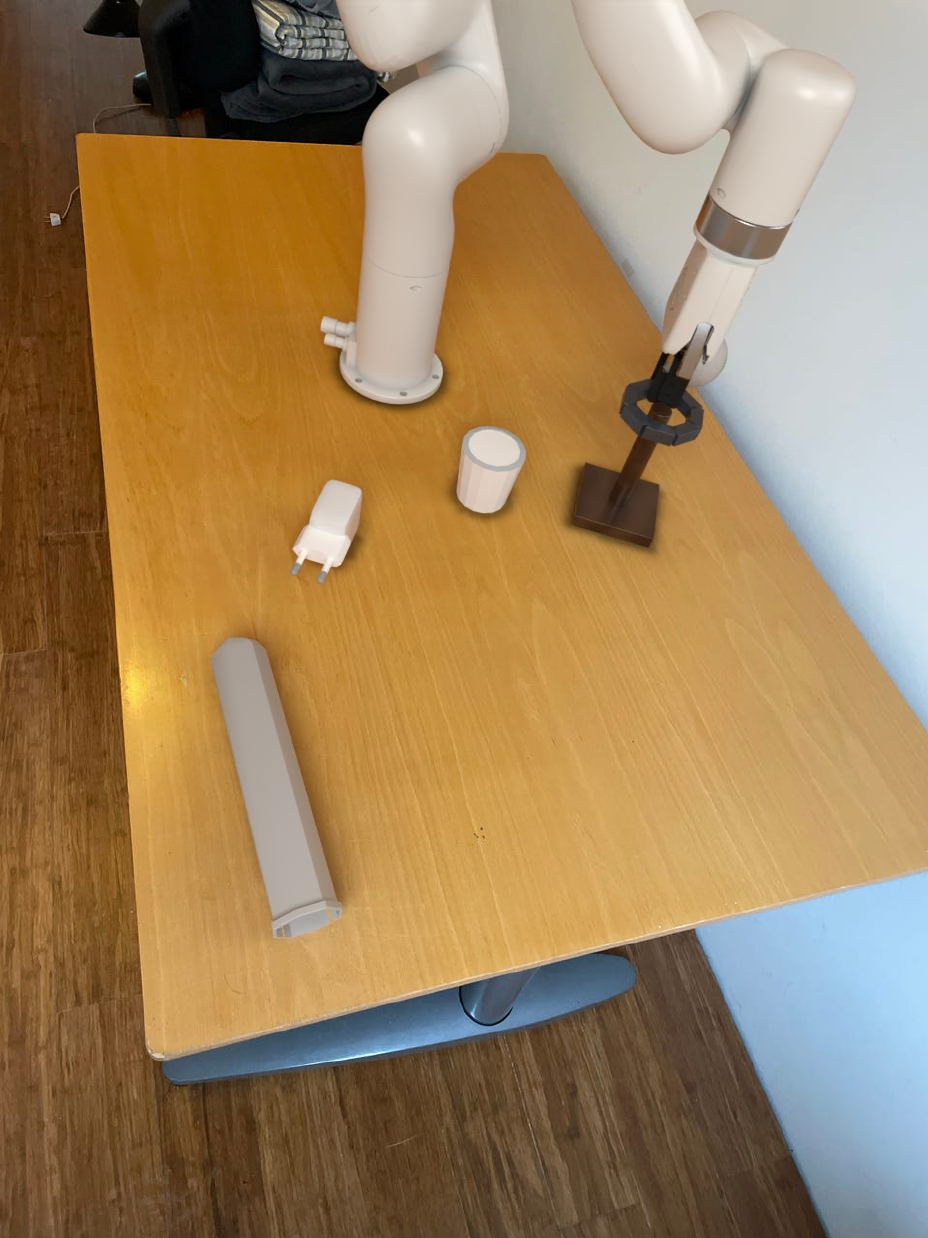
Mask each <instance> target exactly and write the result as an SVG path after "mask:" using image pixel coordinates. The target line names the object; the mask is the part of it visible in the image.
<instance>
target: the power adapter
mask: <svg viewBox="0 0 928 1238" xmlns="http://www.w3.org/2000/svg"><path fill="white" fill-rule="evenodd" d="M362 504H363V491H362V489H361V488H360V487H358V486H355V485H353V484H351V483H347V482H343V481H340V480H338V479H337V480H336V479H330V480H327V481H326V483H325V485H324V486H323V487H322V490H321V491H320V493H319V496H318V497H317V500H316V502H315V504H314V506H313V508H312V510H311V512H310V515H309V521H308V523H307V524H305V525H304V526H303V527H302V529H301V531H300V533H299V534H298V537H297V539H296V540H295V543H294V544H293V547H292V551H293V552H294V553H295V554H296V556H297V557H296V560H295V562H294V563H293V564H292V567H291V568H290V571H289V572H290V575H291V576H293V577H297V575H299V572H300V570H301V568H302V566H303V563H304V561H305V560H309V561H312V562H315V563H318V564H322V565H323V566H322V568H321V570H320V572H319V573H318V576H317V577H316V582H317V584H319V585H322V584H324V583H325V581H326V579H327V577H328V574H329V572H330V569H331V568H337V567H339V566H341V565H342V564H343V562H344V560H345V557H346V556H347V553H348V551H349V550H350V547H351V545H352V542H353V540H354V539H355V536H356V533H357V531H358V529H359V526H360V521H361V513H362Z"/></svg>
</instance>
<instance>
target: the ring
mask: <svg viewBox="0 0 928 1238" xmlns="http://www.w3.org/2000/svg"><path fill="white" fill-rule="evenodd" d="M653 382H654V379H653V380H652V379H651V377H649V378H645V379H642V380H638V381H634V382H631V383H628V385H626V386H625V388H624V391H623V393H622V396H621V401H620V406H619V410H618V414H619V417H620V418H621V420H622V421H623V422H624V423H625V424H626V425H627V426H628V427H629V428H630V429H631V430H632V432H633V433H634V434H635V435H636V436H638V435H641V438H643V439H647V440H650V441H653V442H656V443H657V444H659V445H660V444H661V445H663V446H666V447H671V446H672V447H677V446H679V445H683V444H687V443H690V442H692V441H695V440H696V439H697V438H698V437H699V435H700V433H701V431H702V430H703V426H704V425H703V424H704V415H705V409H704V407H703V405H702V404H700V402H699V401H697V399H696V398H695V397H693V395H692V394H691V393H689V391H688V390H687V389H686V390H685V392H684V394H683V396H682V398H681V400H680V402H679V404H678V406H677V408H675V409H676V410H677V411H678V412H679V413H680V414H681V415H682V417H684V418H685V421H684V422H682V423H678V424H675V425H670V424H668V423H667V424H664V423H660V422H657V421H654V420H651V419H650V418H649V417H648V416H647V413H645V412H644V411H643V410H642V409H641V408H640V406H639V405H638V403H639V402H642V401H645V400H647V395H648V393H649V391H650V388H651V386H652V384H653Z"/></svg>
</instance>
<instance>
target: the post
mask: <svg viewBox="0 0 928 1238" xmlns="http://www.w3.org/2000/svg"><path fill="white" fill-rule="evenodd" d="M646 415H647V416H648V417H649V418H650V419H651V420H654V421H657V422H660V423H664V424H667V425H668V423H669V421H670V419H671V417H672V415H673V409H672V410H671V408H670V407H669V406H668V405H666V404H664V403H660V402H656V403H651V406H650V407H649V410H648V412H647V413H646ZM657 446H658V443H656V442H653V441H650V440H647V439H643V438H641V435H636V438H635V440H634V442H633V444H632V447H631V448H630V450H629V452H628V455H627V457H626V460H625V461H624V464H623V466H622V468H621V471H620V472H619V471H617V470H613V469H609V468H606V467H602V466H599V465H595V464H592V463H589V462H585V463H584V466H583V468H582V470H581V474H580V479H579V484H578V488H577V494H576V499H575V504H574V509H573V514H572V519H571V526H575V527H578V528H582V529H585V530H588V531H591V532H595V533H598V534H602V535H605V536H607V537H612V538H615V539H618V540H622V541H624V542H628V543H632V544H635V545H638V546H642V547H645V548H647V549H648V548H650V546H651V544H652V543H653V541H654V539H655V530H656V520H657V511H658V502H659V493H660V484H659V483H656V482H652V481H649V480H645V479H643V478H641V477H642V476H643V474H644V471H645V469H646V468H647V465H648V463H649V461H650V460H651V457H652V456H653V453H654V451H655V450H656V447H657Z"/></svg>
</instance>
